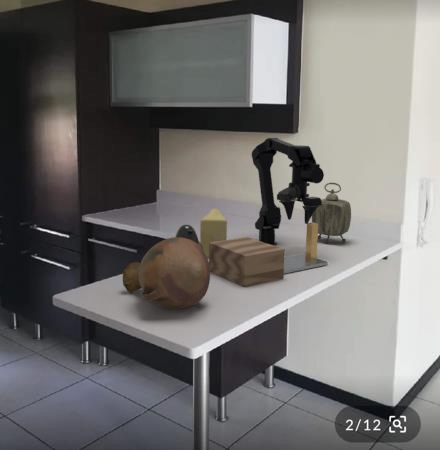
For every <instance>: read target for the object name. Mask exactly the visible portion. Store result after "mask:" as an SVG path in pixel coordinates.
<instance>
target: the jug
mask: <svg viewBox="0 0 440 450" xmlns="http://www.w3.org/2000/svg"><path fill="white" fill-rule="evenodd" d="M210 281H211V272H210V266H209V258H207V256H206V254H205V252H204V251H203V246H202V245H201V243H200V241H199V242H194V241H192V240H190V239H187V238H182V237H175V236H174V237H170V238H166V239H163V240H161V241H159V242H158V243H156V244H155V245H153V246H152V247H150V249H149V250H148V251H147V252H146V253H145V254H144V255H143V257H142V259H141V262H138V261H134V262H131V263H129V264H127V266H126V268H125V269H124V270H123V272H122V285H123V287H124V288H125V289H126V291H128V292H129V293H130V294H132V293H134V292H136V291H138V290H141V289H142V291H143V292H142V297H143V300H144V301H145V302H153V303H155V304H156V305H158V306H160V307H164V308H167V309H171V310H173V309H174V310H176V309H177V310H178V309H186V308H188V307H189V308H190V307H192V306H194V305H196V304H198V303H199V302H200V301H201V300H203V298H204V297H205V296H206V294H207V292H208V290H209V285H210Z"/></svg>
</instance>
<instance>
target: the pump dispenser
mask: <svg viewBox="0 0 440 450" xmlns="http://www.w3.org/2000/svg"><path fill="white" fill-rule="evenodd" d="M174 237H182V238H187V239H190V240H192V241H194V242H200V241H199V238H198V234H197V232H196V230H195V228H194V227H193V226H192V225H190V224H187V223H186V224H182V225H181V226H179V228H178V229H177V231H176V233H175V236H174Z"/></svg>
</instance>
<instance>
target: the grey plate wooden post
mask: <svg viewBox="0 0 440 450" xmlns="http://www.w3.org/2000/svg"><path fill="white" fill-rule="evenodd" d="M318 236H319V234H318V224H317V223H313V222H312V221H311V222H308V223H307V224H306V238H305V254H304V253H300V254H294V255H288V256H284V275H285V274H289V273H294V272H298V271H303V270H308V269H313V268H318V267H322V266H328V264H329V263H328V262H329V261H326V260H324V259H323V260H322V259H320V258H317V254H318V253H317V252H318Z"/></svg>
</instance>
